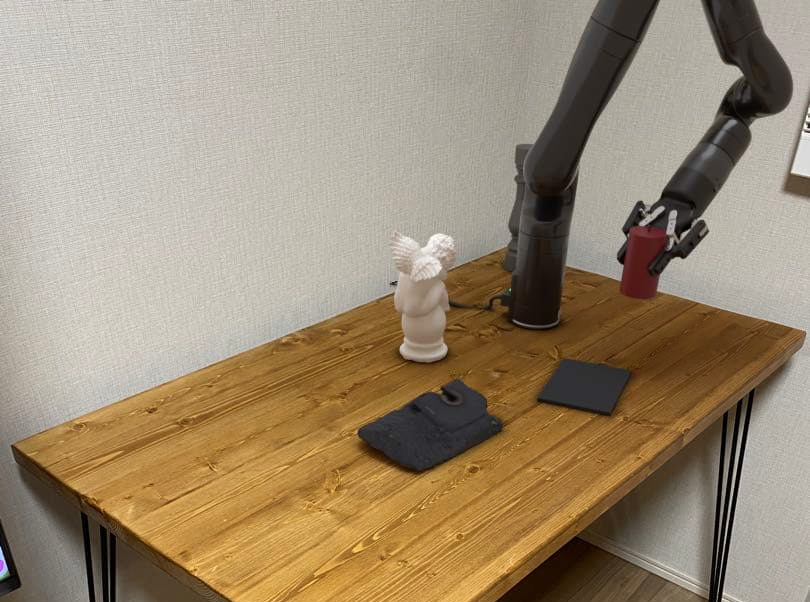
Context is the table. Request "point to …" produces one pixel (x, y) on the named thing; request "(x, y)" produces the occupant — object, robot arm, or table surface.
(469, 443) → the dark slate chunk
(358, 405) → the table surface
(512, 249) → the candle holder
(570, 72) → the robot arm
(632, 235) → the candle
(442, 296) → the cherub figurine
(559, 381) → the mat
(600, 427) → the table surface
